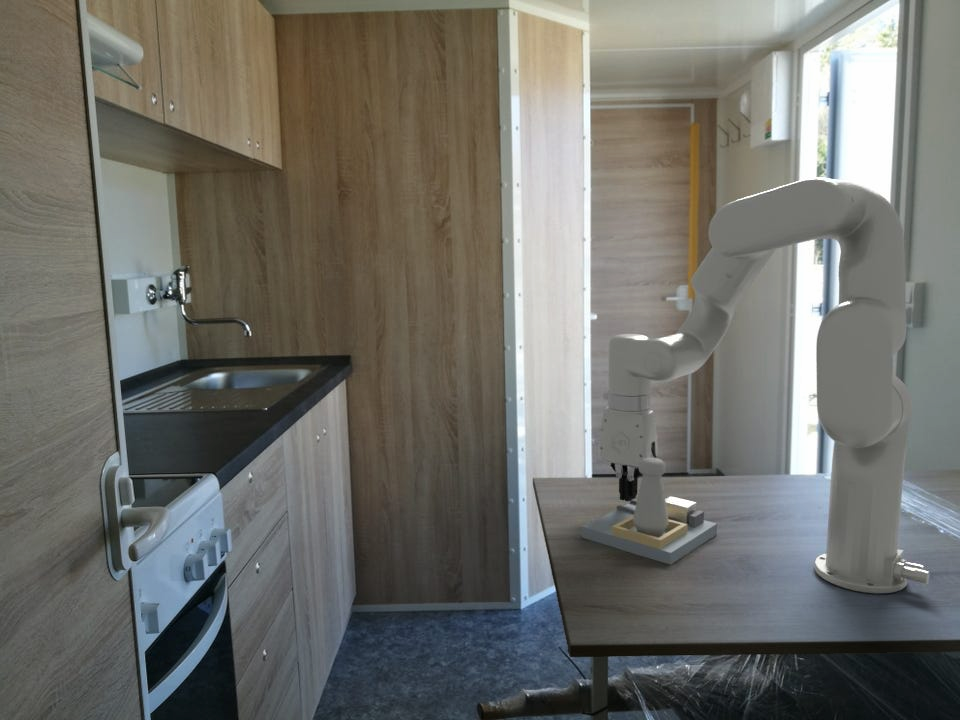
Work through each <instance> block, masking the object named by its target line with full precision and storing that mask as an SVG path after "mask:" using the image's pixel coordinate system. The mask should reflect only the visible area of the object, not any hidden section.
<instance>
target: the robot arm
mask: <svg viewBox="0 0 960 720" xmlns="http://www.w3.org/2000/svg"><path fill="white" fill-rule="evenodd" d="M707 234H708V239H709V243H710V245H711V249H710V250H709V252H707V254H706V256H705V257H704V259H703V261H702V262H701V263H700V265H698V268H697V269H696V270H695V272H694V273H693V275H692V277H691V280H690V283H691V287H692V290H693V292H694V302H693V304H692V307H691V310H690V312H689V313H688V315H687V317H686V319H685V320H684V322H683V323H682V324H681V326H680V327H679V329H677V332H676V333H674V334H670V335H666V336H665V335H664V336H663V337H657V338H649V337H648V336H646V335H644V334H639V333H637V334H636V333H621V334H616V335H614V336H612V337H611V338H610V340H609V343H608V392H604V394H603V397H602V398H603V400H605V401H607V406H606V407H604V409H603V412H602V417H601V422H600V428H599V429H600V430H599V439H598V456H599V458H600V459H601V461H602V463H603V464H605V465H607V466H608V467H611V468H612V470H613V471H614V472H615V477H616V478H617V479H618V492H619V500H621V501H625V502H630V500H632V499H634V500H635V499H636V498H637V496H638V482H639V481H638V479H639V478H640V477H642V476H643V474H641V473H640V472H639V462H640V461H641V460H642V459H644V458H658V435H657V425H656V419H655V414H654V410H651V391H652V390H651V388H652V387H651V386H652V383H651V382H652V381H654V382H658V383H660V382H661V383H663V382H669V381H672V380H676V379H678V378H681V377H684V376H687V375H691V374H693V373H695V372H697V371H698V370H699V369H700V368H701V367H702V366H703V365H705V364H706V362H707V361H708V359H709V358H710V356H712V353H714V350H715V349H716V348H717V347H718V346H719V344H720V342H721V341H722V340H723V338H724V336H725V335H726V333H727V331H728V329H729V327H730V325H731V322H732V320H733V318H734V315H735V312H736V308H737V306H738V304H739V302H740V301H741V300H742V298H743V297H744V296H745V294H746V292H747V291H748V290H749V288H750V287H751V286H752V284H753V282H754V281H755V279H756V278H757V276H758V275H759V274H760V272H761V271H762V270H763V268H764V267H765V266H766V264H767V263H768V261H769V260H770V259H771V257H772V256H773V255H774V253H775V251H777V249H781V248H784V247H788V246H793V245H797V244H800V243H805V242H809V241H815V240H829V239H832V240H835V241H836V242H837V243H839V244H838V245H839V248H840V257H839V263H838V264H839V265H838V304H837V305H836V306H834V307H833V308H832V309H830V311H828V312H827V313H826V314H825V316H824V317H823V318H822V321H821V323H820V325H819V329H818V330H817V336H816V346H815V347H816V354H815V355H816V409H817V417H818V420H819V421H818V422H819V424H820V425H821V428H822V429H823V431H824V433H825V434H826V435H827V436H828V438H830V439H831V440H833V441H834V443H833V449H832V460H831V472H830V487H829V500H828V501H829V503H828V505H829V506H828V520H827V521H828V522H827V533H826V534H827V536H826V553H825V552H824V553H823V554H820V555H818V556H817V557H816V558H815V560H814V571H815V572H816V574H818V576H819V577H821V578H822V579H823V580H825V581H827V582H828V583H831V584H833V585H834V586H837V587H841V588H843V589H846V590H851V591H855V592H860V593H869V594H891V593H895V592H898V591H901V590H903V589H905V588H906V587H907V585H908V581H909V580H910V581H912V582H914V583H917V584H918V583H919V584H922V585H926V586H927V585H929V581H930V574H931V573H930V571H928V570H925V566H924V565H922V564H919V563H916V562H915V563H913V562H908V561H907V559H905V558H903V557H904V550H903V549H900V548H899V538H900V537H899V535H900V524H901V523H900V521H901V511H902V510H901V509H902V495H903V494H902V493H903V484H904V473H905V463H906V453H907V446H908V445H907V444H908V440H909V439H908V438H909V433H910V427H911V419H912V412H913V403H912V396H911V395H910V392H909V390H908V388H907V386H906V384H905V383H904V382H903V381H902V379H900V378H899V377H898V376H896V375H894V373H893V371H894V369H893V368H894V367H893V365H894V364H893V363H894V362H893V361H894V358H893V357H894V355H896V354H897V353H898V352H899V350H900V349H901V348H902V347H903V346H904V343H905V341H906V338H907V334H908V333H907V330H908V328H907V310H906V309H907V308H906V307H907V306H906V302H907V301H906V298H907V297H906V296H907V294H906V289H907V287H906V286H907V284H906V282H907V281H906V269H905V268H906V258H905V257H906V256H905V255H906V254H905V247H906V246H905V236H904V235H905V234H904V229H903V225H902V223H901V219H900V217H899V214H898V213H897V211H896V209H895V208H894V206H893V205H892V204H891V203H890V202H889V200H887V199H886V197H884V196H883V195H882V194H879V193H878V192H876V191H874V190H872V189H870V188H868V187H866V186H863V185H860V184H857V183H854V182H850V181H846V180H843V179H835V178H829V177H809V178H805V179H801V180H798V181H795V182H792V183H788V184H785V185H782V186H778V187H775V188H773V189H770V190H765V191H762V192H760V193H757V194H753V195H749V196H745V197H743V198H738V199H737V200H733V201H731V202H728V203H726V204H725V205H723V206H722V207H721V208H719V209H718V210H717V211H716V212H715V213H714V215H713V217H712V218H711V220H710V222H709V227H708V233H707Z"/></svg>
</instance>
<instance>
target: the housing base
mask: <svg viewBox="0 0 960 720" xmlns="http://www.w3.org/2000/svg"><path fill="white" fill-rule="evenodd" d="M636 503H637V499H635V498H634V499H632V500H630V501H629V502H628V503H626V504H624V505H619V504H618V505H616V509H615V510H612V511H610V512H609V513H606V514H605V515H603V516H601V517H599V518H596V519H594V520H593V521H590V522H588V523H586V524H584V525H582V526H581V538H582V539H585V540H589V541H592V542H594V543H595V542H596V543H598V544H602V545H605V546H607V547H611V548H615V549H618V550H622V551H624V552H628V553H632V554H634V555H637V556H641V557H643V558H644V557H645V558H647V559H651V560H653V561H657V562H660V563H663V564H666V565H673V564H674V563H675V562H677V561H678V560H680V559H682V558H683V557H685V556H686V555H687V554H689V553H691V552H692V551H694V550H695V549H697V548H698V547H700V546H701V545H703V544H704V543H706V542H708V541H709V540H710V539H713V537H715V536H716V535H718V533H717V532H718V531H717V529H718V523H716V522H713V521H710V520H709V521H708V520H705V511H703V510H696V512H695V513H693V514H691V515H690V517H689V523H688V524H685V523H681V522H678V521H676V520H672V519H669V518H668V520H669V523H668V526H667V528H666V530H665V532H664V534H663V535H662V536H660V537H659V538H658V537H654V536H651V535H647V534H644V533H640V532H637V529H636V527H635V524H634V522H633V517H634V512H635V508H636Z"/></svg>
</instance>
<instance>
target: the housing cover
mask: <svg viewBox="0 0 960 720" xmlns="http://www.w3.org/2000/svg"><path fill="white" fill-rule="evenodd" d="M665 501H666V507H667V514H668V518H669V519H672V520H676V521H678V522H681V523H685V524H688V523H689V517H690V515H691V514H693V513H695V512H696V511H697V502H696V501H692V500H688V499H683V498H679V497H675V496H669V497H667V498H666V497H665Z"/></svg>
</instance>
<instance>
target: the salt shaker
mask: <svg viewBox="0 0 960 720" xmlns="http://www.w3.org/2000/svg"><path fill="white" fill-rule="evenodd" d="M639 472H640V473H641V474H642V475H641V477H642V478H641V483H640V486H639V491H638V493H637V499H636V500H637V503H636V508H635V512H634V517H633V522H634V524H635V527H636V529H637V532H640V533H644V534H647V535H651V536H654V537H658V538H659V537H660V536H662V535H663V534H664V532H665V530H666V528H667V526H668V523H669V520H668V514H667V507H666V501H665V499H666V495H665V490H664V484H663V477H662V475H664V474H665V472H666V463H665V461H663V459H661V458H658V457H657V458H644V459H642V460H641V461H640V462H639Z"/></svg>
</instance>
